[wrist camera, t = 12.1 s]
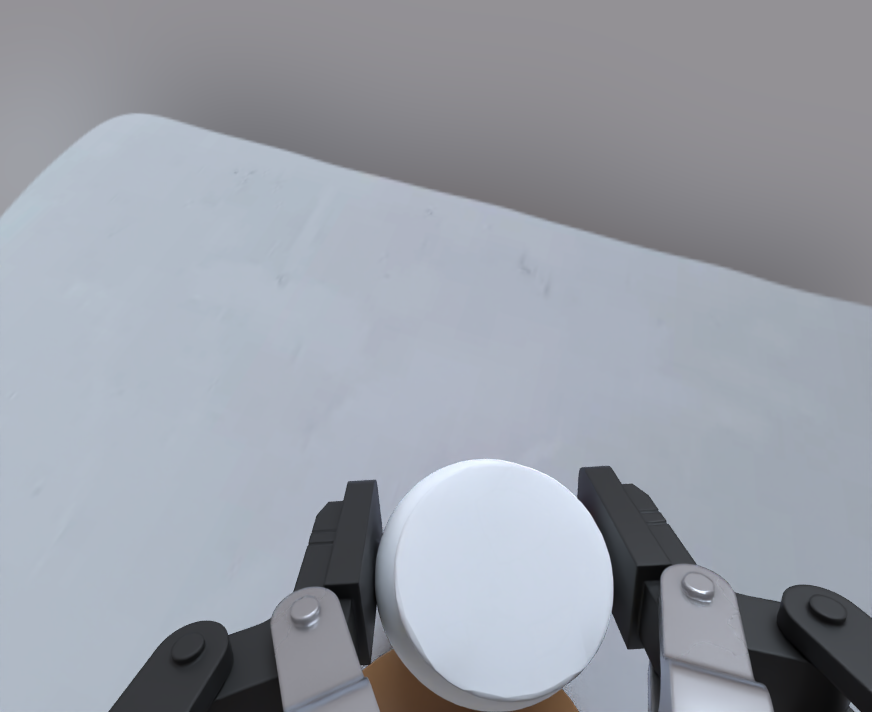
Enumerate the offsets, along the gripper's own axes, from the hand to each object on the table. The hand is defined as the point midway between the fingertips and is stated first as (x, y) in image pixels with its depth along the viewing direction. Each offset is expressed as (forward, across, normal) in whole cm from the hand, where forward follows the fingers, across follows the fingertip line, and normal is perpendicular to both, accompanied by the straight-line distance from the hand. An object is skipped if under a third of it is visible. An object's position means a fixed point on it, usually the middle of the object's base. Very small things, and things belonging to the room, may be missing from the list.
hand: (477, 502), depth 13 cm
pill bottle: (+3, 0, +5) cm, 6 cm away
